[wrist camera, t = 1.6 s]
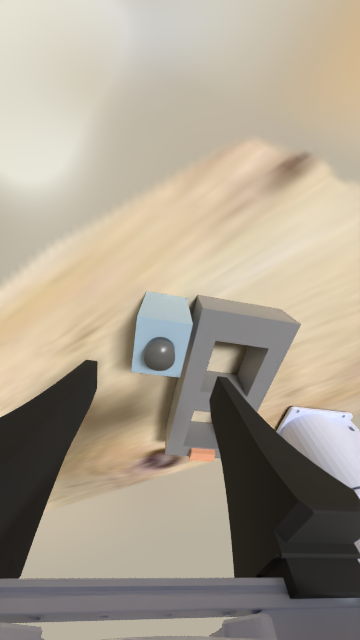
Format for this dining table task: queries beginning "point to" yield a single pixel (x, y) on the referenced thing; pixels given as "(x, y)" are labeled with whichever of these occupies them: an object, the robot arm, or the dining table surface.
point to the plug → (161, 335)
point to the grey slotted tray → (251, 380)
